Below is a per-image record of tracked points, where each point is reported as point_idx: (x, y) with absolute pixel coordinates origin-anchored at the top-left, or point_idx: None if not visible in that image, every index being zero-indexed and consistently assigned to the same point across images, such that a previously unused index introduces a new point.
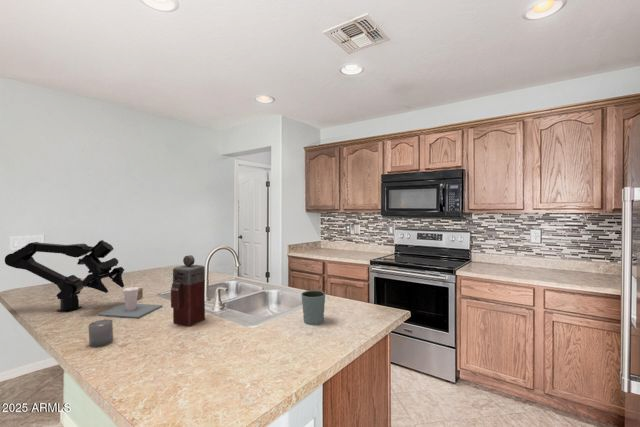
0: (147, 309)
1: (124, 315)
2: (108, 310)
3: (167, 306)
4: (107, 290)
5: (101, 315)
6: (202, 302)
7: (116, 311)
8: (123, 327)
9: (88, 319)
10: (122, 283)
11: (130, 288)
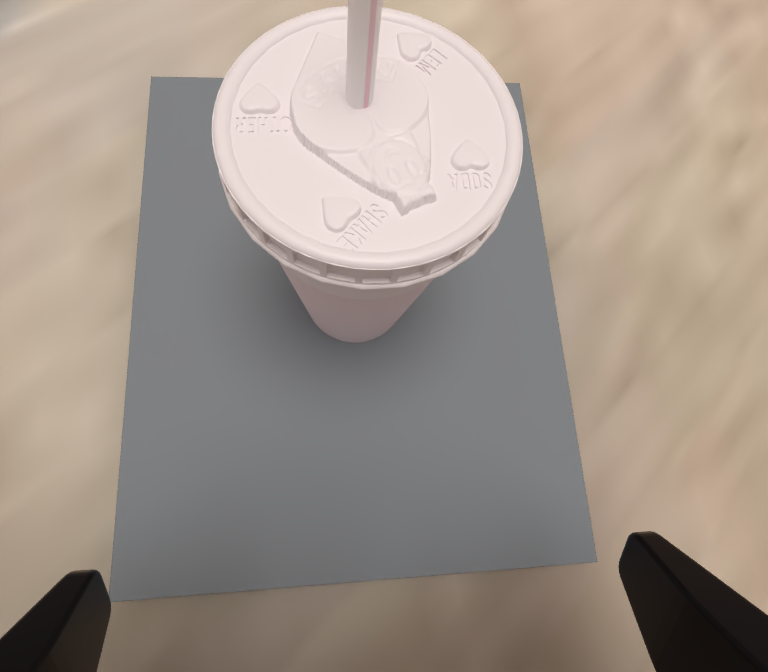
0: None
1: (529, 226)
2: (454, 547)
3: (137, 54)
4: (661, 547)
5: (581, 503)
6: None
7: (455, 411)
8: (696, 82)
9: (699, 559)
10: (27, 651)
11: (382, 120)
